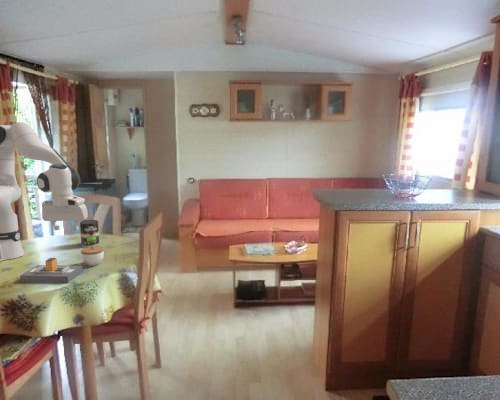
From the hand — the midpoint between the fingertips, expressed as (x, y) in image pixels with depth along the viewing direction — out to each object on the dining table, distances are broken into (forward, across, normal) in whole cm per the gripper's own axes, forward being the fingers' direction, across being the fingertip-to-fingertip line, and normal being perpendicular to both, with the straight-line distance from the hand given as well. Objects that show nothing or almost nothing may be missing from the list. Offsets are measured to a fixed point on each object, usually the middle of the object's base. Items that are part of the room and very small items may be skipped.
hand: (66, 229), depth 169 cm
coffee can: (+22, -16, +47) cm, 55 cm away
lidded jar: (+23, +2, +16) cm, 28 cm away
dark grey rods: (+22, -9, +8) cm, 25 cm away
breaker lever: (+19, -8, -2) cm, 20 cm away
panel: (+22, -8, -2) cm, 23 cm away
